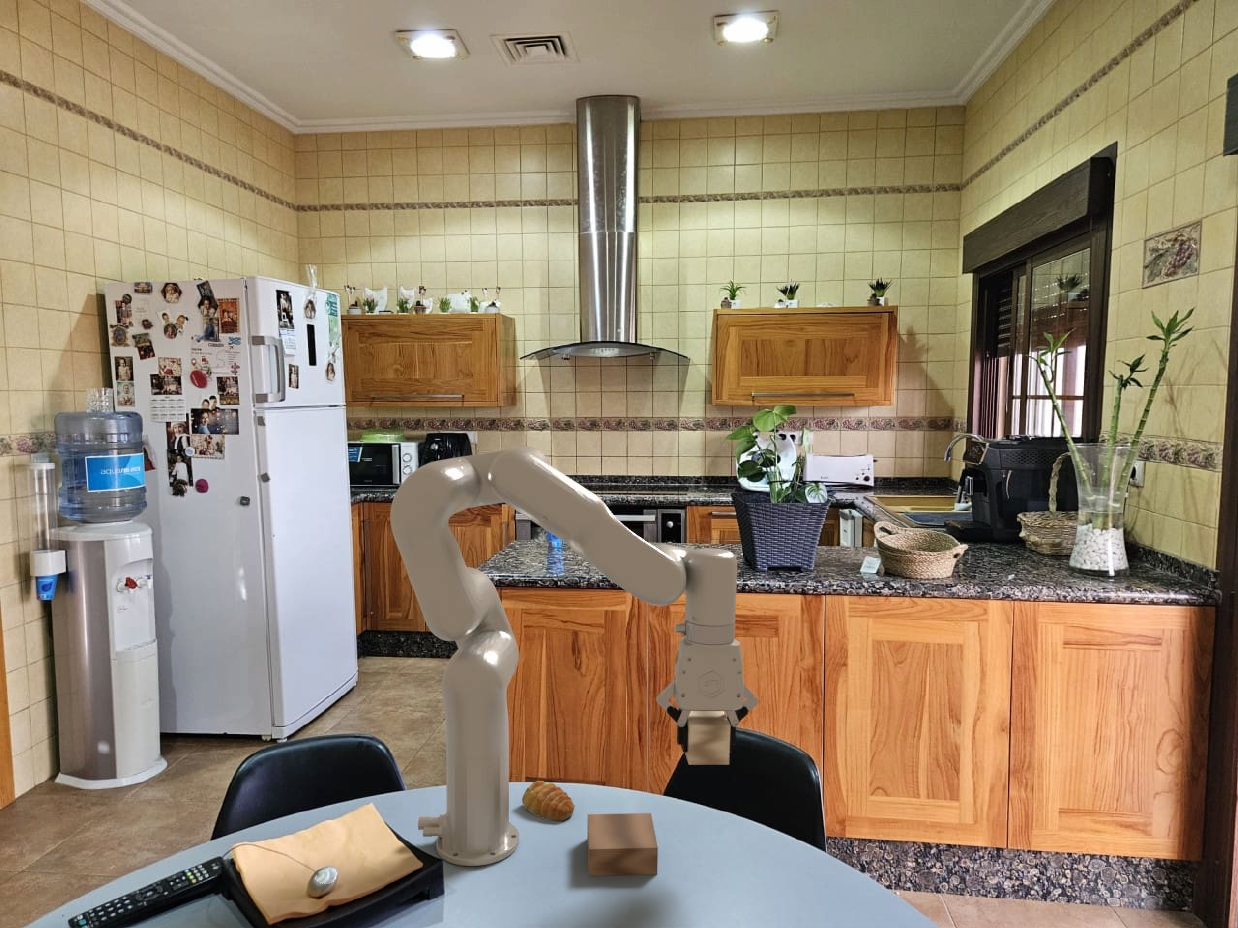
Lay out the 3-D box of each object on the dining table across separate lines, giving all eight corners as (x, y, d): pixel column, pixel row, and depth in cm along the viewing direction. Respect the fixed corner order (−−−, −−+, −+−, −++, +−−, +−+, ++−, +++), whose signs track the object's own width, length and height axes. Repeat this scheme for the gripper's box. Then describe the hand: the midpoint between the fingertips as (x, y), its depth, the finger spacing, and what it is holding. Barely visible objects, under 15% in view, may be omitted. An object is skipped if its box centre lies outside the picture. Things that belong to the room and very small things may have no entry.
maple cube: (688, 764, 117) (690, 724, 116) (683, 747, 123) (684, 709, 122) (729, 764, 117) (730, 724, 117) (721, 747, 123) (722, 709, 123)
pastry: (584, 812, 133) (584, 791, 133) (555, 828, 128) (555, 805, 128) (546, 794, 140) (546, 773, 139) (517, 809, 135) (516, 787, 134)
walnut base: (588, 875, 115) (588, 848, 115) (587, 838, 125) (587, 814, 125) (657, 874, 116) (657, 847, 115) (650, 837, 125) (651, 812, 125)
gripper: (654, 638, 114) (651, 759, 116) (772, 639, 115) (768, 759, 117) (649, 624, 122) (646, 738, 123) (760, 625, 123) (756, 738, 124)
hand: (705, 747), depth 120 cm, fingers closed on maple cube, 6 cm apart
